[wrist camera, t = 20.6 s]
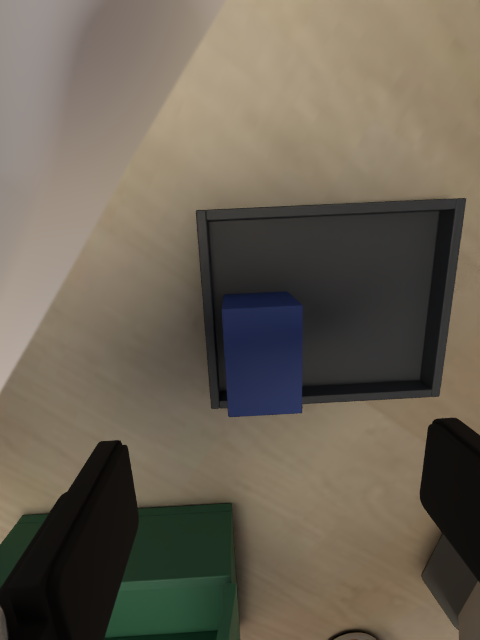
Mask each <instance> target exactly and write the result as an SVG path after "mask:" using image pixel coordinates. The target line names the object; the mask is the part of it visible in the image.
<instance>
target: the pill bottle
mask: <svg viewBox="0 0 480 640" xmlns="http://www.w3.org/2000/svg"><path fill="white" fill-rule="evenodd" d="M334 640H376V639H375V638H374V637H372V636H371V635H368V634H366V633H348V634H345V635H342V636H339V637H337V638H335V639H334Z"/></svg>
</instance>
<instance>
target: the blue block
mask: <svg viewBox="0 0 480 640" xmlns="http://www.w3.org/2000/svg"><path fill="white" fill-rule="evenodd" d="M222 322H223V338H224V354H225V370H226V386H227V402H228V416H229V417H240V416H258V415H277V414H295V413H302V351H303V305H302V304H301V303H300V302H298V301H297V300H296V299H295V298H294V297H293V296H292V295H291V294H290V293H289V292H287V291H285V292H265V293H244V294H225V295H224V298H223V305H222Z"/></svg>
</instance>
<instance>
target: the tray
mask: <svg viewBox="0 0 480 640" xmlns="http://www.w3.org/2000/svg"><path fill="white" fill-rule="evenodd" d="M465 204H466V198H457V199H434V200H412V201H390V202H368V203H346V204H324V205H303V206H281V207H259V208H237V209H215V210H197V211H196V220H197V233H198V245H199V258H200V271H201V284H202V297H203V309H204V322H205V335H206V348H207V360H208V373H209V386H210V399H211V408H212V409H218V408H228V402H227V386H226V370H225V354H224V338H223V322H222V305H223V298H224V295H225V294H244V293H265V292H285V291H287V292H289V293H290V294H291V295H292V296H293V297H294V298H295V299H296V300H297V301H298V302H300V303H301V304H302V305H303V351H302V404H311V403H330V402H348V401H366V400H385V399H403V398H421V397H439V395H440V387H441V380H442V373H443V365H444V358H445V351H446V343H447V336H448V328H449V321H450V314H451V306H452V299H453V292H454V284H455V277H456V270H457V262H458V255H459V248H460V240H461V233H462V226H463V218H464V211H465Z"/></svg>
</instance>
